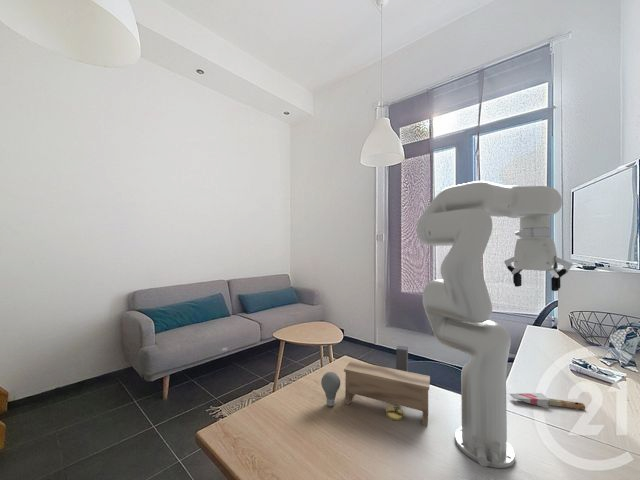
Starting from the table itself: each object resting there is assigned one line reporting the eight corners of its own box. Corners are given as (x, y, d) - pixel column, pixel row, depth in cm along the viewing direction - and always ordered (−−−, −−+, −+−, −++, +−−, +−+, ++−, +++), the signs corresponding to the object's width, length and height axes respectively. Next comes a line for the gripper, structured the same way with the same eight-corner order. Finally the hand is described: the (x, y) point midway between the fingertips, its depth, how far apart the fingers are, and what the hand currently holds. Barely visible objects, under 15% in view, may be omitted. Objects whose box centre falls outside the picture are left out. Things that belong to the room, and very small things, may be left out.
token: (402, 423, 74) (402, 418, 74) (384, 418, 76) (384, 413, 76) (404, 413, 78) (404, 408, 79) (387, 409, 81) (387, 404, 81)
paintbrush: (508, 388, 87) (578, 398, 83) (507, 396, 87) (578, 407, 83) (514, 394, 84) (588, 405, 79) (513, 403, 83) (588, 414, 79)
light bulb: (344, 405, 82) (344, 372, 82) (331, 413, 78) (331, 379, 78) (329, 397, 86) (329, 366, 87) (317, 405, 82) (317, 372, 82)
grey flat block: (403, 404, 83) (403, 359, 83) (392, 401, 84) (392, 357, 85) (407, 386, 94) (407, 346, 94) (397, 384, 95) (397, 345, 95)
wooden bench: (429, 426, 72) (429, 387, 73) (343, 403, 83) (344, 369, 83) (430, 412, 79) (430, 376, 79) (350, 392, 89) (350, 360, 89)
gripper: (499, 235, 89) (499, 285, 89) (565, 232, 74) (566, 293, 74) (510, 235, 93) (510, 284, 92) (575, 233, 78) (576, 291, 77)
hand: (535, 288), depth 83 cm, fingers open, 9 cm apart
